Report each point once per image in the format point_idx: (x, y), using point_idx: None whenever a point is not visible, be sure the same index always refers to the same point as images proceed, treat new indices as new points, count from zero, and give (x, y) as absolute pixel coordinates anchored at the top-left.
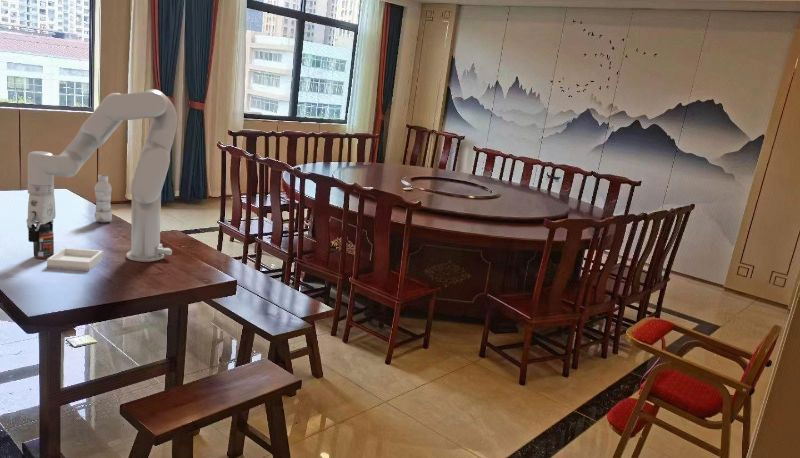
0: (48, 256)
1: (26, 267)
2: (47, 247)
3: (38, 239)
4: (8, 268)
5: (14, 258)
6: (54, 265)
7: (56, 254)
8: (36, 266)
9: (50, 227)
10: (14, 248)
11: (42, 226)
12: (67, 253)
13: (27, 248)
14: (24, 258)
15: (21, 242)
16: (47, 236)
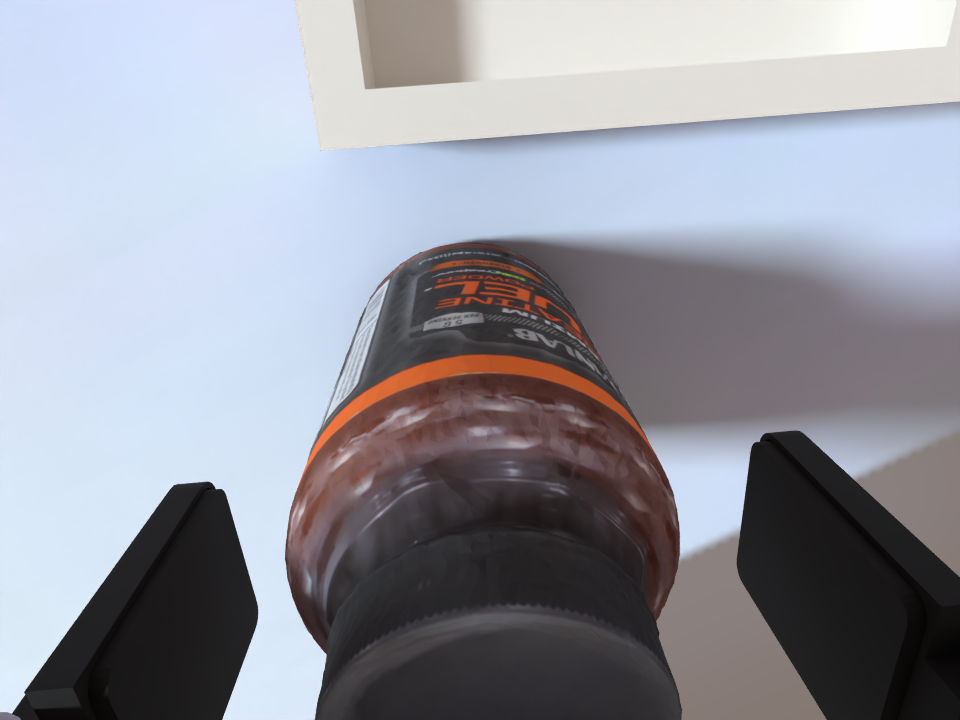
0: (533, 266)
1: (862, 319)
2: (566, 318)
3: (829, 460)
4: (897, 443)
5: None
6: None
7: (717, 79)
8: (823, 243)
9: (160, 620)
10: (310, 673)
11: (642, 716)
12: (369, 63)
13: (258, 600)
14: None
15: None
16: (617, 411)
